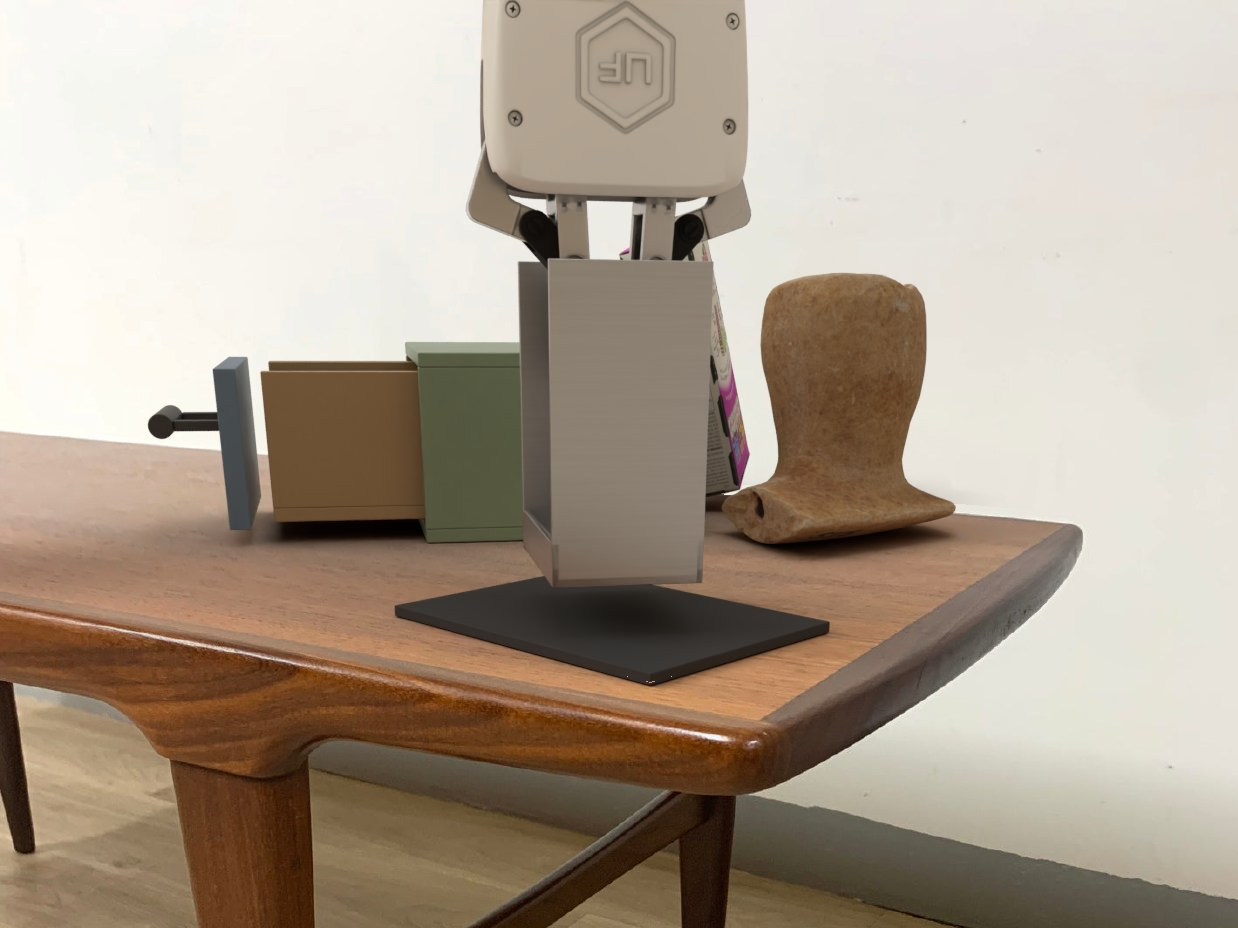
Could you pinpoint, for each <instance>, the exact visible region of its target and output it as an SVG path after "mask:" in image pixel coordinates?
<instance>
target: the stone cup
mask: <svg viewBox="0 0 1238 928" xmlns="http://www.w3.org/2000/svg"><path fill="white" fill-rule="evenodd" d="M927 327H928V326H927V312H926V303H925V300H924V297H923V295H922V293H921V291H920V290H919V289H918V288H917V286H916V285H914V284H912V283H905V284H902V283H901V282H899V281H897V280H896V279H893V278H892V277H888V276H887V275H883V274H878V273H877V274H876V273H855V272H830V273H822V274H821V273H820V274H812V275H804V276H801V277H797V278H793V279H789V280H787V281H784V282H782V283H779V284H778V285H776V286H774V287H773V288H772V289H771V290H770V292H769V293H768V295H767V297H766V299H765V302H764V306H763V313H762V321H761V330H760V346H759V347H760V356H761V357H760V358H761V359H760V360H761V364H762V370H763V374H764V379H765V382H766V387H767V391H768V395H769V401H770V405H771V406H770V407H771V413H772V418H773V419H772V420H773V424H774V429H775V434H776V442H777V463H776V467H775V469H774V473H773V474H772V475H771V476H770V478H768V480H766V481H764V482H762V483H759V484H755V485H751V486H748V487H745V488H743V489H740V490H738V491H736V493H733V494H730V495H729V496H728V497H727V498H726V499H724V500H723V502H722V505H721V510H722V512H723V514H724V516H726V518H727V519H728V520H730V521H731V522H732V524H733V525H734V526H735V527H736V528H737V529H738V530H739V531H740V532H741V533H743V534H744V535H746V536H747V537H748V538H749V539H751V540H753V541H755V542H758V543H761V544H769V545H772V544H773V545H774V544H776V545H777V544H792V543H793V544H794V543H807V542H816V541H829V540H837V539H843V538H852V537H859V536H866V535H871V534H876V533H881V532H887V531H892V530H897V529H901V528H906V527H912V526H915V525H920V524H925V523H928V522H933V521H937V520H941V519H943V518H947V517H949V516H951V515H953V514H954V513H955V512H956V510H957V509H956V508H957V507H956V505H955V503H954V502H952V501H951V500H948V499H945V498H942V497H939V496H936V495H934V494H931V493H929V492H926V491H924V490H921V489H919V488H918V487H915V486H914V485H912V484H910V483H909V481H908V479H907V478H906V475H905V471H904V466H903V458H904V457H903V456H904V453H905V452H904V451H905V448H906V447H905V446H906V442H907V438H908V434H909V430H910V425H911V422H912V420H913V417H914V414H915V412H916V409H917V406H918V403H919V400H920V398H921V394H922V388H923V384H924V379H925V373H926V365H927V347H928V345H927V344H928V340H927V339H928V338H927V336H928V335H927V333H928V331H927Z"/></svg>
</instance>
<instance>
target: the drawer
mask: <svg viewBox="0 0 1238 928" xmlns="http://www.w3.org/2000/svg"><path fill="white" fill-rule="evenodd" d="M267 367H268V370H261V371H260V372H259V373H260V384H261V395H262V404H263V405H262V406H263V415H264V416H263V417H264V425H265V436H266V446H267V447H266V448H267V458H268V467H269V469H268V470H269V478H270V488H271V490H270V491H271V498H272V499H271V500H272V508H273V509H272V511H273V520H274V522H275V523H290V522H291V523H292V522H293V523H294V522H296V523H298V522H334V521H335V522H337V521H378V520H379V521H381V520H384V521H385V520H419V519H425V508H424V488H423V468H422V448H421V427H420V407H419V387H418V366H417V365H416V364H415V363H414V362H413V361H406V360H268V362H267ZM249 368H250V367H249V358H248V356H227V358H225V359H224V360H223V361H221V362H220V363H219V364H217V365H216V366H215V367H213V368H212V378H213V386H214V388H213V389H214V395H215V397H214V398H215V406H216V411H183V412H182V410H181V409H180V408H179V407H178V406H176V405H173V404H167V405H164V406H163V407H162V408H160V409H159V410H158V411H156V412H155V413H154V414H152V416H150V417H149V419H148V421H147V429H148V431H149V433H150V434H151V436H152V437H154V438H156V439H159V440H165V439H168V438H170V437H171V436H172V435H173V434H175V432H218V434H219V444H220V451H221V460H222V469H223V480H224V489H225V497H226V506H227V517H228V525H229V530H230V531H251V530H252V528H253V525H254V521H255V519H256V515H257V512H258V509H259V505H260V503H261V499H262V490H261V481H260V480H261V479H260V470H259V459H258V448H257V439H256V430H255V419H254V417H255V416H254V407H253V399H252V388H251V376H250V369H249Z"/></svg>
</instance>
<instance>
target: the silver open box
mask: <svg viewBox="0 0 1238 928" xmlns="http://www.w3.org/2000/svg"><path fill="white" fill-rule="evenodd" d="M714 264H715V263H714V261H713V260H712V261H669V260H620V259H603V258H601V259H599V258H590V259H551V258H550V259H548V270H547V269H546V268H545V267H544V265H543V264H542V263H541V262H540V261H529V260H528V261H527V260H526V261H524V260H521V261H520V260H519V261H517V295H518V297H517V298H518V337H519V338H518V342H519V352H520V402H521V452H522V502H523V540H522V541H523V542H522V543H523V544H522V545H523V546H522V547H523V549H524V550H525V551H526V553H527V554H528V556H529V558H531V560H532V561H533V562H534V564H535V566H536V567H537V568H538V570H539V571H540V572H541V574H542V576H545V578H546V579H547V580H548V582H549V583H550V584H551V586H552V587H553V588H564V587H594V586H624V585H680V584H681V585H682V584H703V582H704V581H703V580H704V579H703V578H704V576H703V575H704V553H705V552H704V550H705V523H706V522H705V520H706V498H705V496H706V467H707V438H708V409H709V380H710V351H711V322H712V293H713V270H714Z"/></svg>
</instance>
